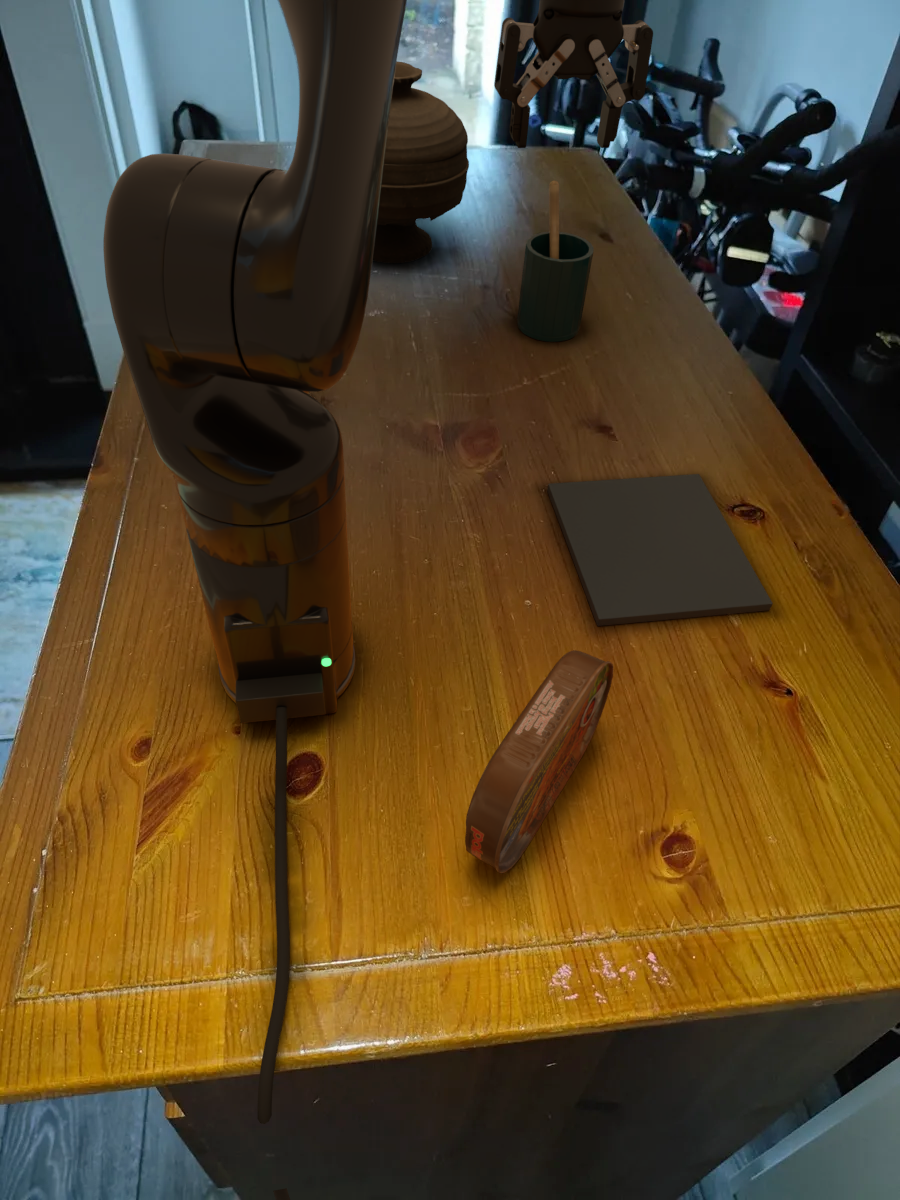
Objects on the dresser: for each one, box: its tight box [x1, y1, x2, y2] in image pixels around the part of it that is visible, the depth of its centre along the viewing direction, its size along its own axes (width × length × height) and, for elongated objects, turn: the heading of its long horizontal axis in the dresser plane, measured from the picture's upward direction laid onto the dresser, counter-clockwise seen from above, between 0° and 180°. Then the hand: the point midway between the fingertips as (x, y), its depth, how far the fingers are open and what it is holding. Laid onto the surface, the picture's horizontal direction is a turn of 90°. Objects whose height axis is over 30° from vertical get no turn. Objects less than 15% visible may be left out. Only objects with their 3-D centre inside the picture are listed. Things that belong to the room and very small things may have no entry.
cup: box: [516, 231, 595, 343], centre depth 91 cm, size 7×7×9 cm
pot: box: [373, 61, 470, 264], centre depth 99 cm, size 18×18×20 cm
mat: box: [546, 473, 773, 627], centre depth 70 cm, size 16×14×1 cm
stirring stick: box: [548, 180, 560, 259], centre depth 90 cm, size 8×1×13 cm, turn 9°
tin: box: [464, 649, 614, 874], centre depth 51 cm, size 15×3×8 cm, turn 148°
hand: (561, 145), depth 84 cm, fingers open, 8 cm apart
